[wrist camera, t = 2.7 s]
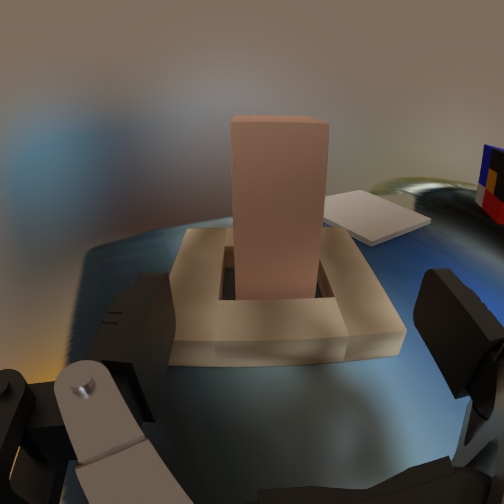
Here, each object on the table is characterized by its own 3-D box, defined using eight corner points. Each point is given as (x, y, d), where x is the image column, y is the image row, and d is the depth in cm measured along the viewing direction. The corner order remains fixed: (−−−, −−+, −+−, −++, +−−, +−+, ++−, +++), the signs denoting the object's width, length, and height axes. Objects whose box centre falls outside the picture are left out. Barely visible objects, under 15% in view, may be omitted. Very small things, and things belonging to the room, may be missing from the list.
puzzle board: (341, 246, 29) (344, 226, 28) (397, 355, 17) (407, 330, 16) (189, 248, 29) (187, 228, 28) (155, 364, 17) (147, 339, 16)
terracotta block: (301, 273, 25) (310, 116, 20) (312, 313, 21) (329, 124, 15) (237, 275, 25) (234, 115, 20) (236, 316, 21) (230, 122, 15)
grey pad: (360, 193, 44) (360, 189, 44) (430, 223, 35) (431, 218, 34) (294, 207, 38) (294, 202, 38) (370, 247, 29) (371, 241, 29)
